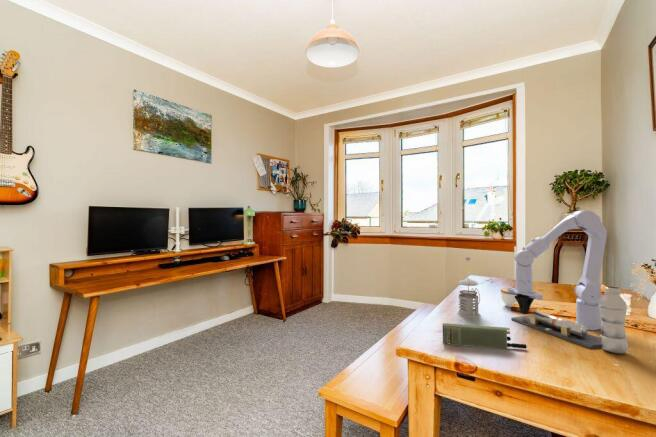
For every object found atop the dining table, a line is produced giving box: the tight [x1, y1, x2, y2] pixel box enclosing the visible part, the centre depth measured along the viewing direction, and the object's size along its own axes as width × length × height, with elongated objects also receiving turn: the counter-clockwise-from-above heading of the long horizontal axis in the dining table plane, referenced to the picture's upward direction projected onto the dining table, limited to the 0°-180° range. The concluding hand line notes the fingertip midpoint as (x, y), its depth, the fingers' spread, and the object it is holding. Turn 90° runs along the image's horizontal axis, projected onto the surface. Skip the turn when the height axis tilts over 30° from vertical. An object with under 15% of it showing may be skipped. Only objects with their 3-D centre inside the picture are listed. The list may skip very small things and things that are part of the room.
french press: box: [456, 256, 482, 319], centre depth 137 cm, size 10×12×25 cm
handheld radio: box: [442, 322, 527, 350], centre depth 105 cm, size 7×3×25 cm
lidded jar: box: [500, 285, 517, 309], centre depth 149 cm, size 11×11×9 cm
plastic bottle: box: [599, 285, 629, 354], centre depth 99 cm, size 6×7×20 cm
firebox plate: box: [511, 313, 602, 350], centre depth 117 cm, size 10×30×4 cm, turn 16°
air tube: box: [531, 310, 589, 337], centre depth 117 cm, size 18×4×4 cm, turn 17°
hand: (524, 313), depth 130 cm, fingers closed
